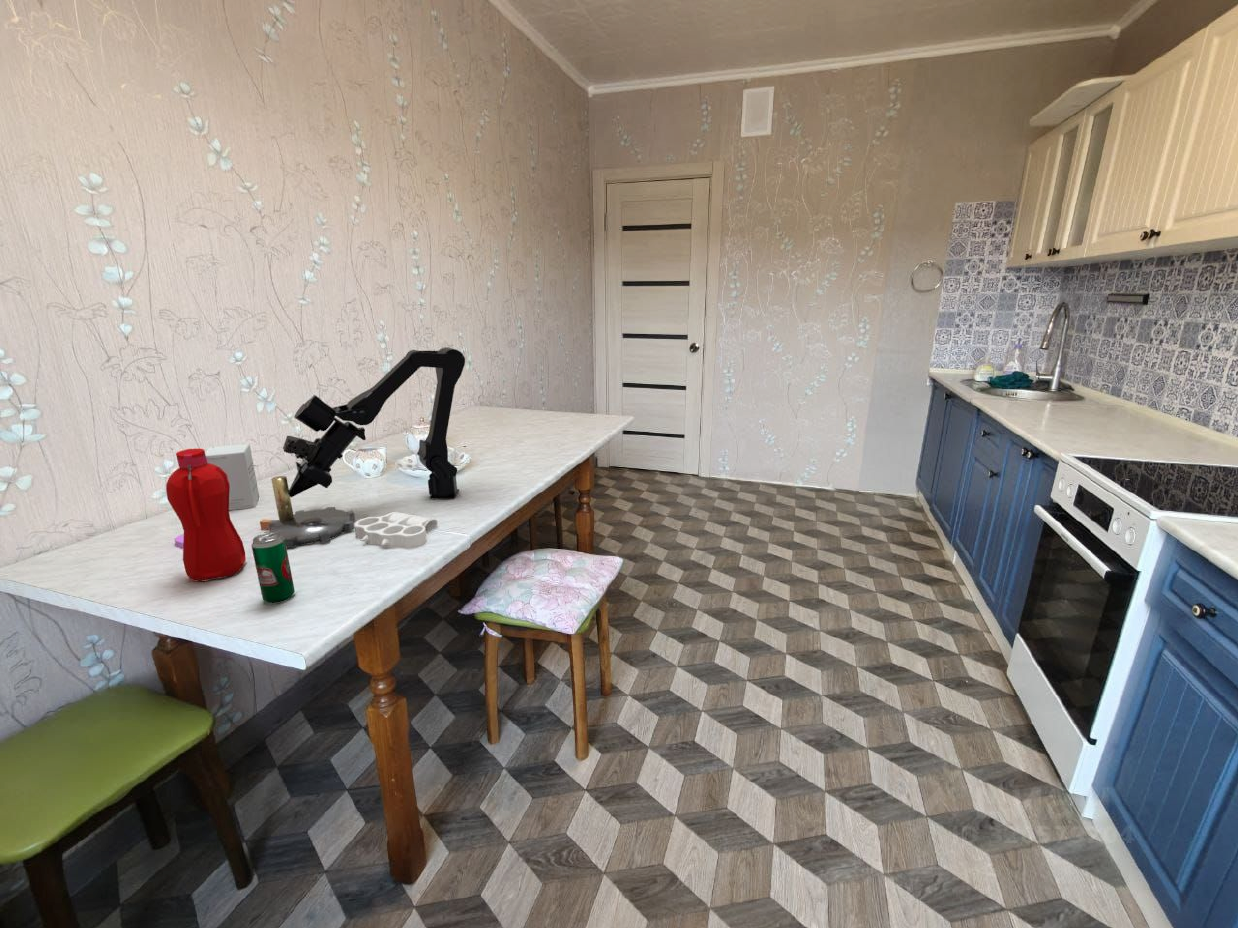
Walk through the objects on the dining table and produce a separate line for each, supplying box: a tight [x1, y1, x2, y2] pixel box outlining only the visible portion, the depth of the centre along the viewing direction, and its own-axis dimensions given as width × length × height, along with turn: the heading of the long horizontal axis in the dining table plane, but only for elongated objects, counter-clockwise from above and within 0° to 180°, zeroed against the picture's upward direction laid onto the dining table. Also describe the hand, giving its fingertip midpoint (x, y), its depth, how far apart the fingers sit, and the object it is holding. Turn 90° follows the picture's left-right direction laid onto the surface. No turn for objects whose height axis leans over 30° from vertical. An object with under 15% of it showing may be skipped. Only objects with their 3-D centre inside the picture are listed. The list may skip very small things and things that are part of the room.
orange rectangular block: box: [259, 519, 274, 531], centre depth 132 cm, size 2×1×2 cm, turn 83°
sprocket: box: [263, 475, 356, 549], centre depth 129 cm, size 19×19×12 cm
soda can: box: [251, 532, 296, 604], centre depth 101 cm, size 5×5×12 cm
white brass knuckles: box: [354, 511, 438, 549], centre depth 128 cm, size 3×18×15 cm
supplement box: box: [205, 443, 260, 511], centre depth 145 cm, size 9×9×15 cm
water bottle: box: [165, 448, 246, 582], centre depth 108 cm, size 9×11×25 cm
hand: (289, 495), depth 133 cm, fingers closed
